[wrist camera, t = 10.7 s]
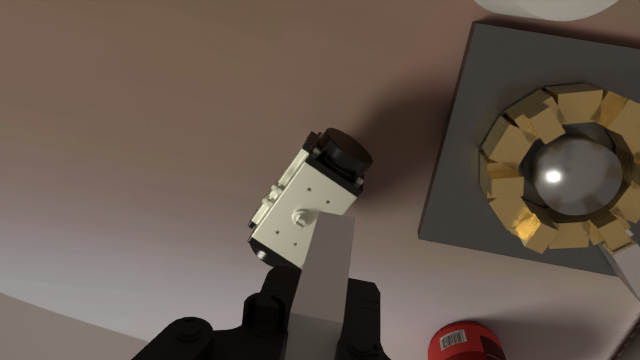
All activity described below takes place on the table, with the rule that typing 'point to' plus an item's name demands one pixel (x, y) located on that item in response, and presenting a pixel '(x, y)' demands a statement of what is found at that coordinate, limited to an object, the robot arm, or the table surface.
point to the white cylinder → (547, 8)
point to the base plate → (541, 159)
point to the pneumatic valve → (308, 196)
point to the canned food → (465, 343)
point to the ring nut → (545, 124)
